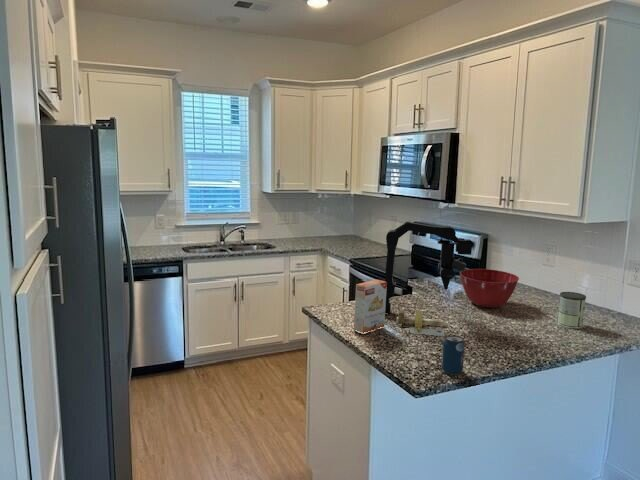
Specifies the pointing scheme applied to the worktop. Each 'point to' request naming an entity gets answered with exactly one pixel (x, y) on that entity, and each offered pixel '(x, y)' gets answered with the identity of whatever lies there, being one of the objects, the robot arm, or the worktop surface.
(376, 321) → the cracker box
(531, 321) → the worktop surface
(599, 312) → the worktop surface
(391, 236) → the robot arm
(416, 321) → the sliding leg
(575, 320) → the coffee can
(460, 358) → the soda can
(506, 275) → the mixing bowl
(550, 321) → the worktop surface
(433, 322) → the trammel beam
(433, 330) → the bolt plate
